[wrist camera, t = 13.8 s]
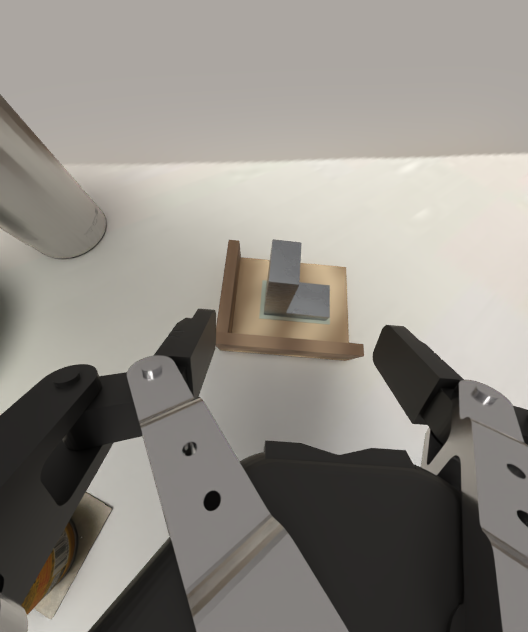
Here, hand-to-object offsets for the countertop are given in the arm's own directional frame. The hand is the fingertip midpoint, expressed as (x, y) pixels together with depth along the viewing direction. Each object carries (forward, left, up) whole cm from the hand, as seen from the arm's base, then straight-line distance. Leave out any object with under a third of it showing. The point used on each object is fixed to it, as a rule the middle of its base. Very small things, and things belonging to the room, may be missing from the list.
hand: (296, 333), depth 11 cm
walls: (+1, +7, -16) cm, 18 cm away
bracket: (+2, +7, -15) cm, 17 cm away
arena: (+1, +7, -16) cm, 18 cm away
